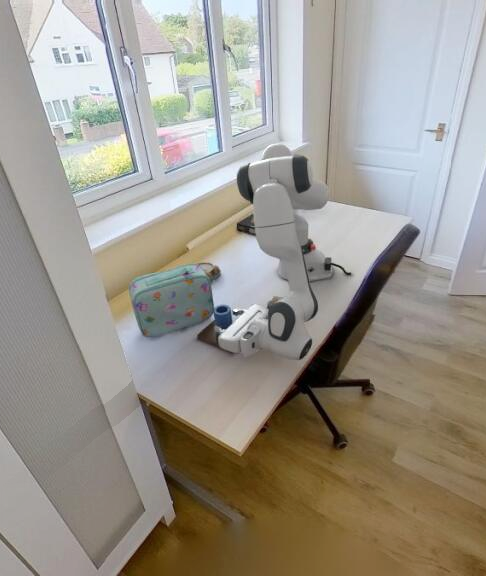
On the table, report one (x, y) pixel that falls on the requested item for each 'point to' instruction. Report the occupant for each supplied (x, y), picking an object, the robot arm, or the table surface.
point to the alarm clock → (210, 270)
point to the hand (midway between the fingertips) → (224, 319)
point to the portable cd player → (247, 225)
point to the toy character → (273, 301)
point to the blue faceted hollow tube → (223, 316)
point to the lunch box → (171, 300)
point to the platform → (210, 336)
